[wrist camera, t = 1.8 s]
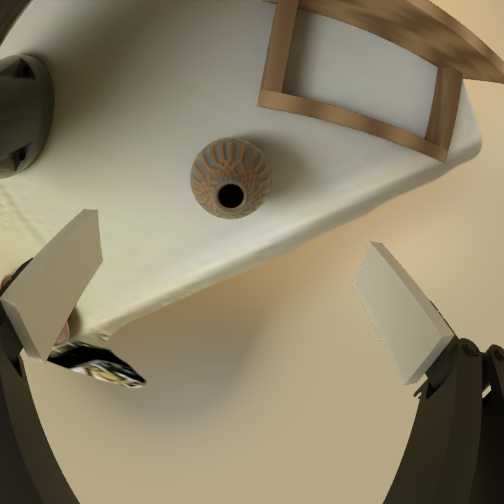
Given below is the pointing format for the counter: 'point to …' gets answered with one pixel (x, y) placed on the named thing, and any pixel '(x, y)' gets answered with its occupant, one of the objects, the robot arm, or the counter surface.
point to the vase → (231, 178)
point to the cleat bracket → (403, 34)
